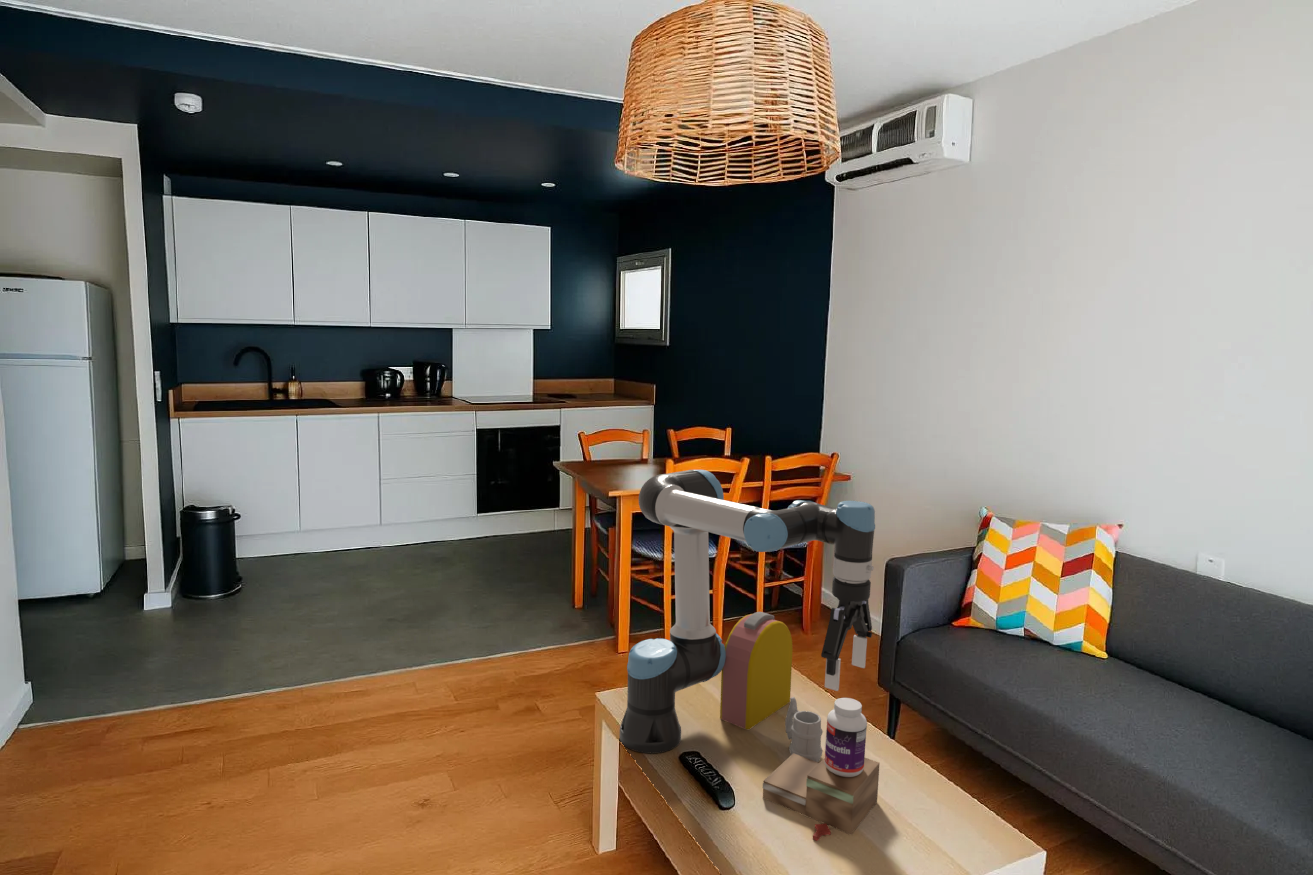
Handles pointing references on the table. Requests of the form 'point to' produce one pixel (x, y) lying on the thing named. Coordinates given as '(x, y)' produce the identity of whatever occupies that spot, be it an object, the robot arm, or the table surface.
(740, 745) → the table surface
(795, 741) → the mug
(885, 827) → the table surface
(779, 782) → the step stand
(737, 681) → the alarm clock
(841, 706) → the pill bottle
